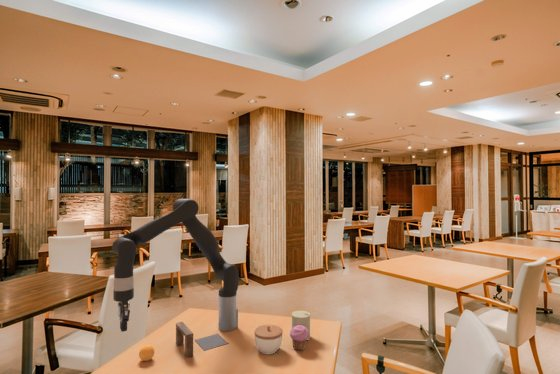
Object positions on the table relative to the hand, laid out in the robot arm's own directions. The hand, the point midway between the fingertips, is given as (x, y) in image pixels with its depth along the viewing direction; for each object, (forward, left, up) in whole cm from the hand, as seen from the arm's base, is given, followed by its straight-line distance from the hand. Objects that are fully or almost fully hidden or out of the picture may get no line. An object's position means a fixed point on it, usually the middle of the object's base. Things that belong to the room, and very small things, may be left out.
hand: (123, 329), depth 132 cm
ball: (-9, 0, -12) cm, 15 cm away
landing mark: (-38, 0, -15) cm, 41 cm away
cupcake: (-69, +28, -15) cm, 76 cm away
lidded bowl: (-56, +22, -15) cm, 62 cm away
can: (-76, +20, -15) cm, 80 cm away
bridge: (-25, 0, -15) cm, 29 cm away
